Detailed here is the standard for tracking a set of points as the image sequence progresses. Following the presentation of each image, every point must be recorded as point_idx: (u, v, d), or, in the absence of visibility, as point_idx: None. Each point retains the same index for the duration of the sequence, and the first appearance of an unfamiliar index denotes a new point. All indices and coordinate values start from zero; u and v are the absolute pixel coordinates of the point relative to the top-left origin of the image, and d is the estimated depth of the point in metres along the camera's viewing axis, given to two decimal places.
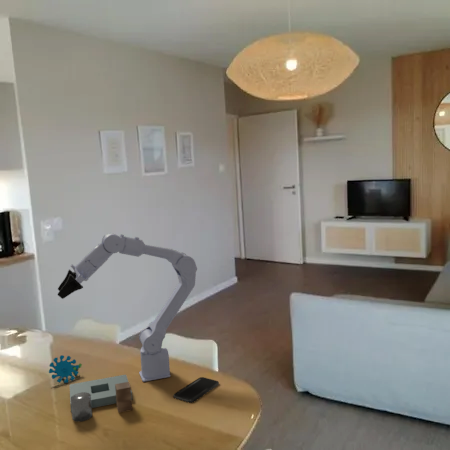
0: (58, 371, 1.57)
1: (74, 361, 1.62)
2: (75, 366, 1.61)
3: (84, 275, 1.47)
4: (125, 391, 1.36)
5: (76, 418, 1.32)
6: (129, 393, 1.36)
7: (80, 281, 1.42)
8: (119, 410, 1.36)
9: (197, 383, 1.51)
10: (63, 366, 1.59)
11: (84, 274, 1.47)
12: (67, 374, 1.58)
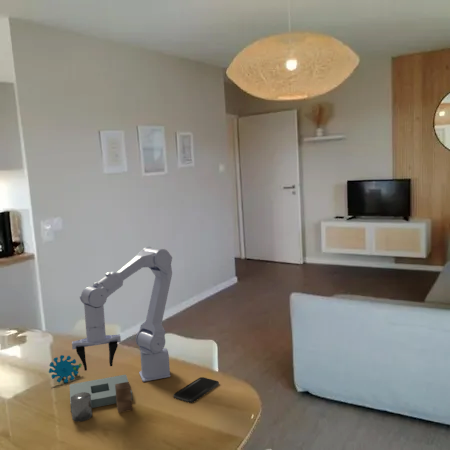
0: (58, 371, 1.58)
1: (74, 361, 1.63)
2: (75, 366, 1.61)
3: None
4: (125, 391, 1.36)
5: (76, 418, 1.32)
6: (129, 393, 1.36)
7: None
8: (119, 410, 1.36)
9: (197, 383, 1.51)
10: (63, 366, 1.59)
11: None
12: (67, 374, 1.58)
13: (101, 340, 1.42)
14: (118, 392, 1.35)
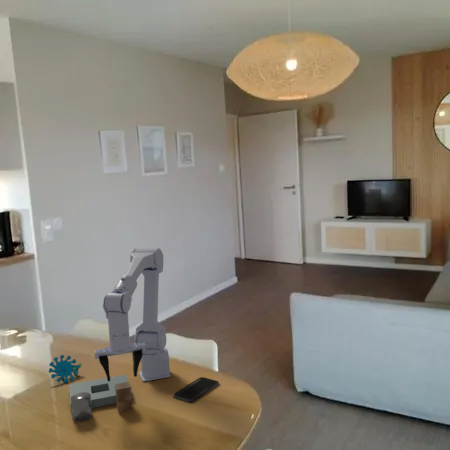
0: (58, 371, 1.58)
1: (74, 361, 1.63)
2: (75, 366, 1.62)
3: None
4: (125, 391, 1.36)
5: (76, 418, 1.32)
6: (129, 393, 1.36)
7: None
8: (119, 410, 1.36)
9: (197, 383, 1.51)
10: (63, 366, 1.59)
11: None
12: (67, 374, 1.58)
13: (125, 349, 1.34)
14: (118, 392, 1.35)
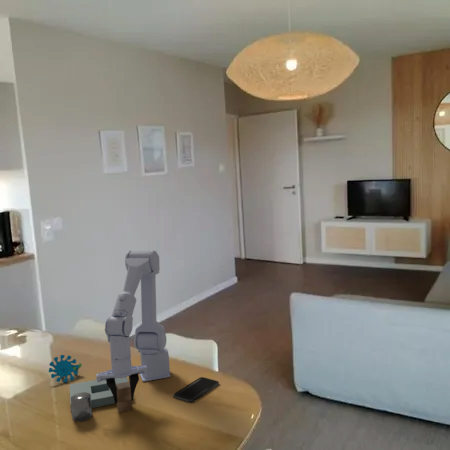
0: (57, 371, 1.58)
1: (74, 361, 1.63)
2: (75, 366, 1.62)
3: None
4: (125, 391, 1.36)
5: (76, 418, 1.32)
6: (129, 393, 1.36)
7: None
8: (119, 410, 1.36)
9: (197, 383, 1.51)
10: (63, 365, 1.60)
11: None
12: (66, 374, 1.59)
13: (127, 372, 1.35)
14: (118, 392, 1.35)
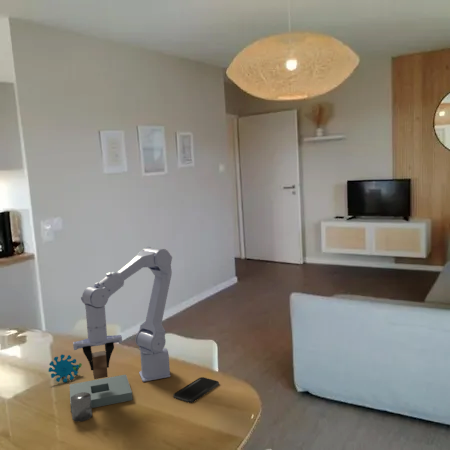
0: (57, 370, 1.58)
1: (74, 361, 1.63)
2: (75, 366, 1.62)
3: None
4: (101, 359, 1.43)
5: (76, 418, 1.32)
6: (105, 361, 1.43)
7: None
8: (95, 377, 1.43)
9: (197, 383, 1.51)
10: (63, 365, 1.60)
11: None
12: (66, 373, 1.59)
13: (102, 341, 1.42)
14: (94, 360, 1.42)
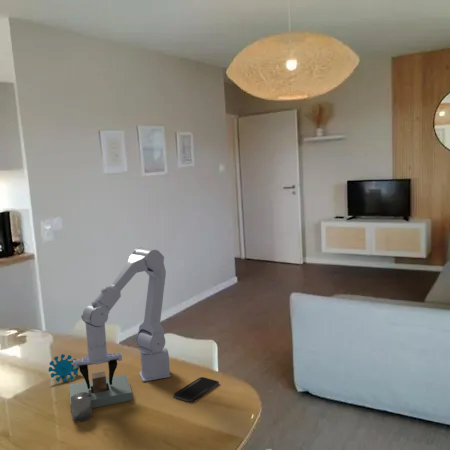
0: (57, 370, 1.58)
1: None
2: None
3: None
4: (101, 380, 1.44)
5: (76, 418, 1.32)
6: (104, 382, 1.44)
7: None
8: None
9: (197, 383, 1.51)
10: (63, 365, 1.60)
11: None
12: (66, 373, 1.59)
13: (102, 359, 1.43)
14: (94, 381, 1.43)
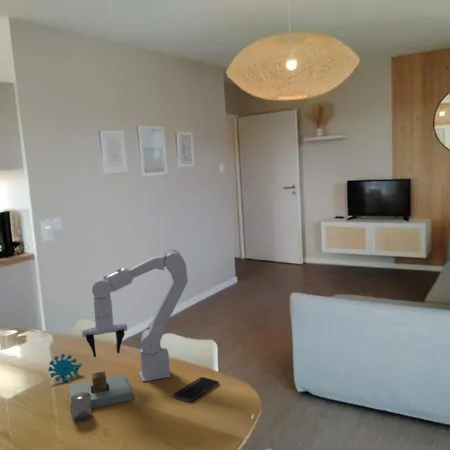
0: (57, 370, 1.59)
1: (74, 360, 1.63)
2: (75, 365, 1.62)
3: None
4: (101, 380, 1.44)
5: (76, 418, 1.32)
6: (104, 382, 1.44)
7: None
8: None
9: (197, 383, 1.51)
10: (63, 365, 1.60)
11: None
12: (66, 373, 1.59)
13: (109, 329, 1.53)
14: (94, 381, 1.43)
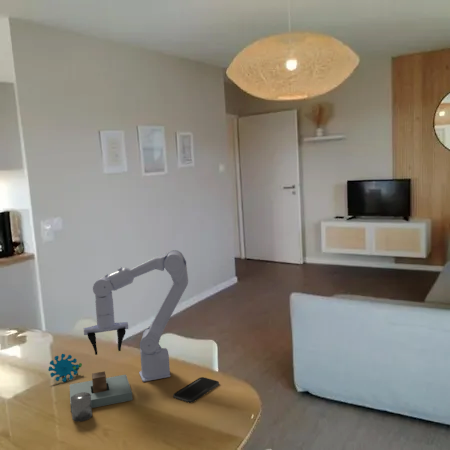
0: (57, 370, 1.59)
1: (75, 360, 1.63)
2: (75, 365, 1.62)
3: None
4: (101, 380, 1.44)
5: (76, 418, 1.32)
6: (104, 382, 1.44)
7: None
8: None
9: (197, 383, 1.51)
10: (63, 365, 1.60)
11: None
12: (66, 373, 1.59)
13: (110, 327, 1.55)
14: (94, 381, 1.43)
